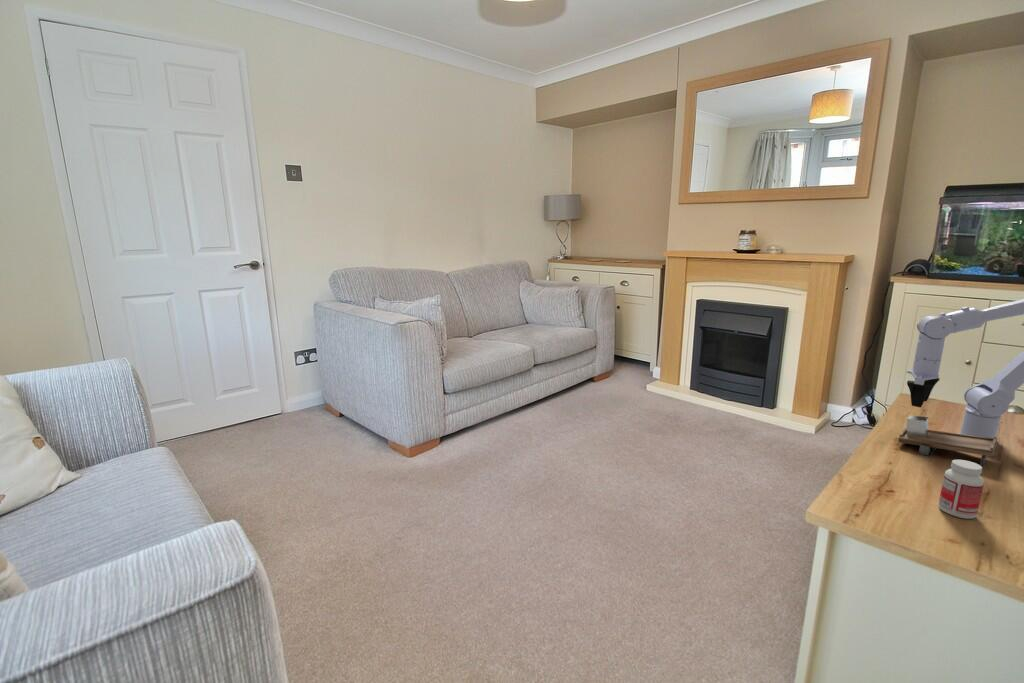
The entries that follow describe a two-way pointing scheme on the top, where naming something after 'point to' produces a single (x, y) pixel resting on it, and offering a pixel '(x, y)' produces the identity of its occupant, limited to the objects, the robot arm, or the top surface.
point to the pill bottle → (962, 489)
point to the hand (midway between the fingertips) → (919, 403)
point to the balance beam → (953, 442)
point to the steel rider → (917, 426)
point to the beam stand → (930, 450)
